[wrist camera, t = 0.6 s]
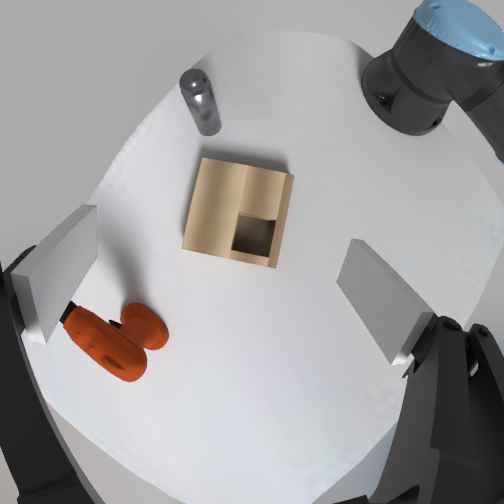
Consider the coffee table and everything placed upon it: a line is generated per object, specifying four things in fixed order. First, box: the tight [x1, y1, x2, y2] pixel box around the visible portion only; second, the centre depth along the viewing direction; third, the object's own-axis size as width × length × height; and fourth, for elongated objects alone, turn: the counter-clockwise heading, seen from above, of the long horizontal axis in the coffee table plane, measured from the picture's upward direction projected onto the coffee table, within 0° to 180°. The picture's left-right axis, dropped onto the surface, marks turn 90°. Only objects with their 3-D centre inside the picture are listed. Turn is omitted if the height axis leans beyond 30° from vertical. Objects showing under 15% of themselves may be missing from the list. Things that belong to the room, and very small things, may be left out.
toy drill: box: [59, 300, 169, 382], centre depth 32 cm, size 5×19×15 cm, turn 52°
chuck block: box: [181, 158, 294, 268], centre depth 38 cm, size 12×12×3 cm
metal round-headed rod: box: [179, 69, 221, 136], centre depth 33 cm, size 3×3×14 cm
